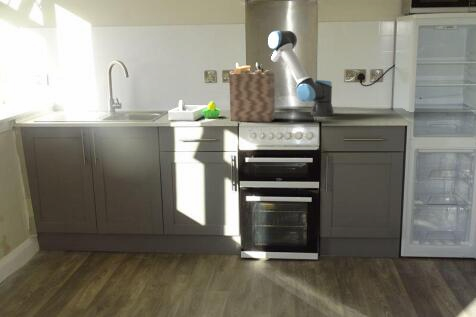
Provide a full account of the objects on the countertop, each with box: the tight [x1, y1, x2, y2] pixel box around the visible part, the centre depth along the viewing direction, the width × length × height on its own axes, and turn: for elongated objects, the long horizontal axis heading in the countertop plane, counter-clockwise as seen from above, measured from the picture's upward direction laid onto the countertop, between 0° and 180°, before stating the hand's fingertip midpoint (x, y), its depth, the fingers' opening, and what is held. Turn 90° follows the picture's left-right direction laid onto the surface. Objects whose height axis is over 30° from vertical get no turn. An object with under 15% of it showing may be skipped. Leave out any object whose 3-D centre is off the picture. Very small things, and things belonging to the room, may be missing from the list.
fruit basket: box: [202, 100, 221, 119], centre depth 342 cm, size 11×9×11 cm
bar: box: [234, 65, 251, 74], centre depth 329 cm, size 4×24×4 cm, turn 164°
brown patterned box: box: [228, 70, 276, 123], centre depth 327 cm, size 26×14×32 cm, turn 74°
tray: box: [167, 104, 208, 122], centre depth 346 cm, size 17×28×6 cm, turn 164°
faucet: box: [178, 99, 188, 111], centre depth 348 cm, size 14×11×20 cm
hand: (246, 64), depth 337 cm, fingers open, 13 cm apart
